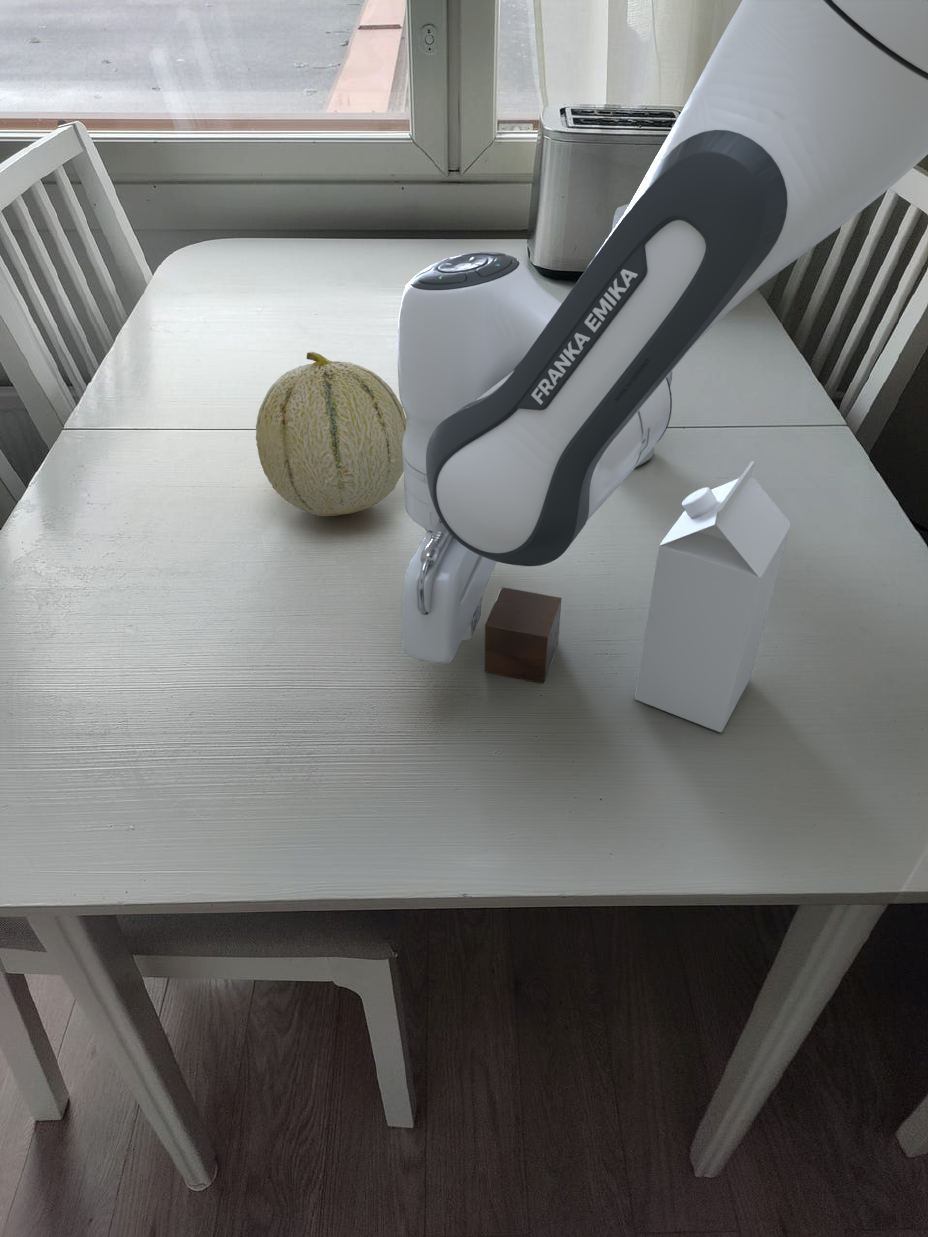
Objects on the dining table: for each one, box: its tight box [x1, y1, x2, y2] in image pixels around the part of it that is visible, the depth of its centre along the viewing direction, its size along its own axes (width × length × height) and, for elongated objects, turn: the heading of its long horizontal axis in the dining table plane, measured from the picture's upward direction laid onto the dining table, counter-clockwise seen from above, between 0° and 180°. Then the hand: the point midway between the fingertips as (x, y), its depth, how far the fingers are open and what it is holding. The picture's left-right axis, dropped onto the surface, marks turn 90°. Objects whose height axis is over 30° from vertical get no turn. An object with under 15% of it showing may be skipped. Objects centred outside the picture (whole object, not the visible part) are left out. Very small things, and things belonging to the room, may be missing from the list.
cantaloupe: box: [255, 351, 406, 517], centre depth 91 cm, size 15×15×15 cm
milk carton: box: [634, 460, 792, 733], centre depth 69 cm, size 7×7×19 cm
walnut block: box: [483, 586, 562, 684], centre depth 77 cm, size 5×5×5 cm
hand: (465, 627), depth 78 cm, fingers closed
